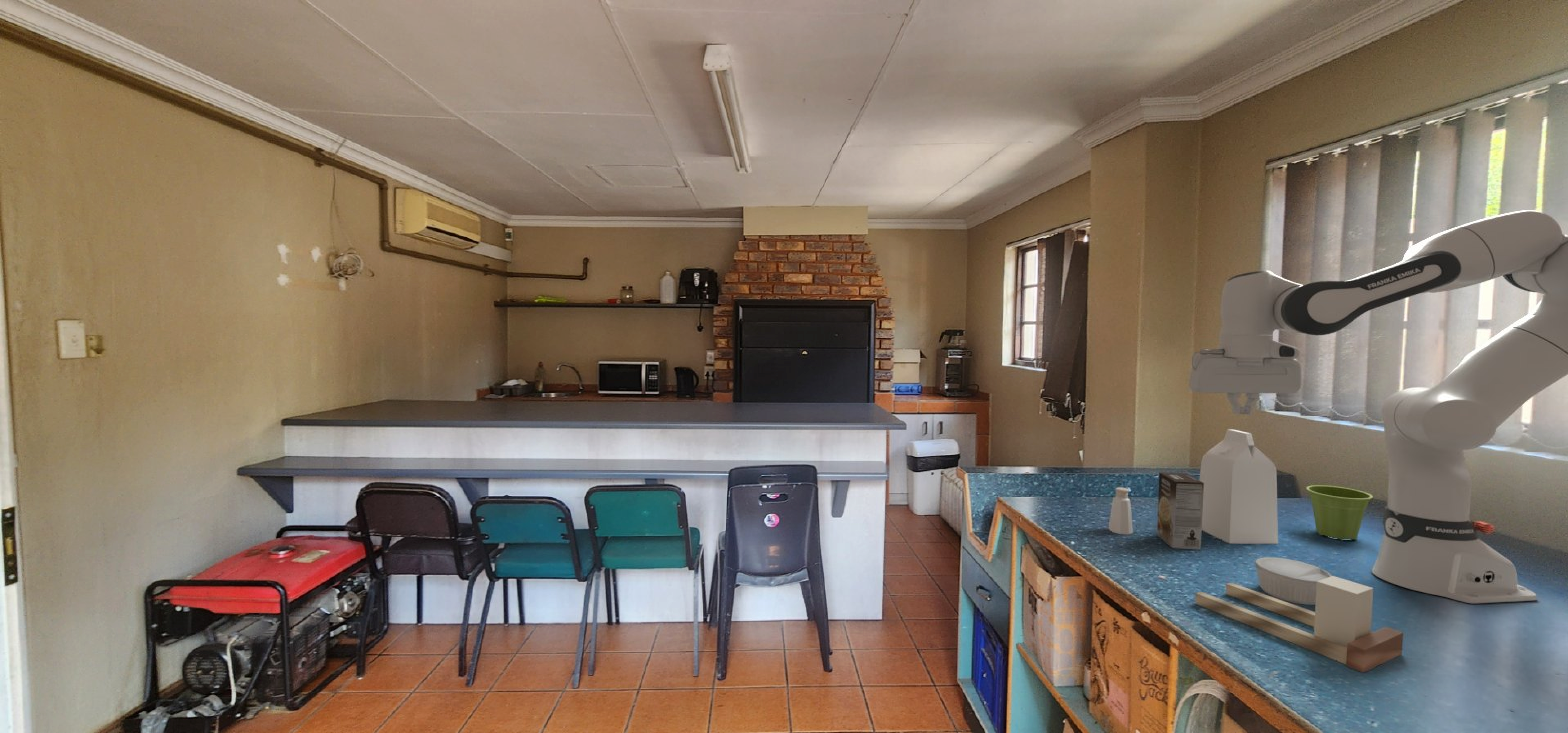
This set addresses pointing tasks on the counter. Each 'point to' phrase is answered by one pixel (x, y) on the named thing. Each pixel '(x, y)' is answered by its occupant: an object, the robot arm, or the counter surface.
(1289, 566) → the ramekin
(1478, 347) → the robot arm
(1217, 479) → the milk
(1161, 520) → the coffee box
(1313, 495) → the plant pot
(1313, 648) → the keeper track
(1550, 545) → the counter surface
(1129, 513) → the pepper shaker
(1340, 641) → the block
